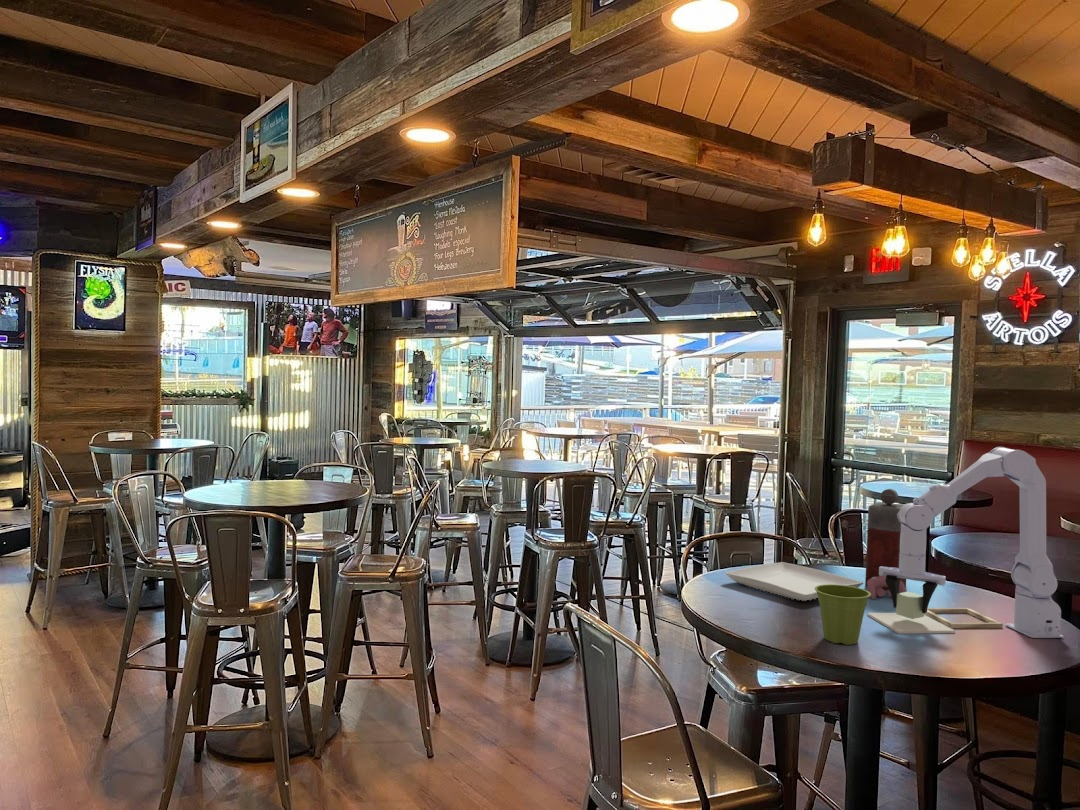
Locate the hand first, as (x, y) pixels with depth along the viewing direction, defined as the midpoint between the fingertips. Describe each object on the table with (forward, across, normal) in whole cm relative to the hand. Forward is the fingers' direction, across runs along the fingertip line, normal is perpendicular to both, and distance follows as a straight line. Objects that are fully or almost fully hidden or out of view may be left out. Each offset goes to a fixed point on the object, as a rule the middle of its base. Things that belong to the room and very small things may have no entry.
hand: (910, 609), depth 191 cm
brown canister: (+4, +13, -35) cm, 38 cm away
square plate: (+4, +33, -14) cm, 37 cm away
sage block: (+1, 0, 0) cm, 1 cm away
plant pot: (+4, +10, +24) cm, 26 cm away
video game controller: (+4, +10, -21) cm, 24 cm away
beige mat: (+3, 0, 0) cm, 3 cm away
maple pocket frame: (+3, -9, -12) cm, 16 cm away
